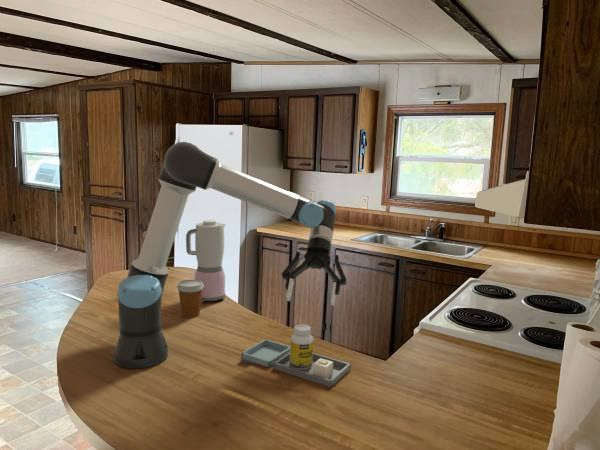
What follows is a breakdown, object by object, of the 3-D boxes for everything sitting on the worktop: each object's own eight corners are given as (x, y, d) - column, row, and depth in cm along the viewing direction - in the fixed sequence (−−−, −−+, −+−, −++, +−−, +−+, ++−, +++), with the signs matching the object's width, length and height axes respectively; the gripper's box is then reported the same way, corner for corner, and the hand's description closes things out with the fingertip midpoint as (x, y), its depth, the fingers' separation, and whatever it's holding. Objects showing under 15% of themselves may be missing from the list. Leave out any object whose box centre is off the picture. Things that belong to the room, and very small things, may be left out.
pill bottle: (292, 371, 133) (294, 332, 131) (287, 361, 139) (288, 323, 137) (315, 369, 135) (316, 330, 133) (308, 359, 141) (310, 322, 139)
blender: (220, 292, 202) (220, 218, 196) (229, 301, 191) (230, 222, 186) (182, 296, 195) (182, 219, 189) (190, 306, 184) (189, 224, 178)
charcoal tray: (330, 390, 125) (331, 381, 125) (273, 371, 134) (273, 363, 134) (350, 371, 136) (350, 363, 135) (296, 355, 145) (296, 347, 144)
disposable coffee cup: (200, 319, 171) (200, 287, 169) (174, 318, 171) (173, 286, 169) (206, 310, 180) (206, 279, 178) (181, 309, 181) (181, 278, 178)
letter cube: (325, 381, 128) (326, 367, 127) (312, 377, 130) (313, 363, 130) (332, 375, 132) (333, 361, 131) (319, 371, 134) (320, 357, 133)
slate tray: (269, 370, 135) (269, 361, 135) (241, 360, 140) (241, 352, 140) (292, 354, 145) (292, 346, 145) (265, 346, 151) (265, 338, 150)
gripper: (358, 251, 156) (351, 310, 144) (284, 246, 161) (272, 302, 149) (358, 239, 150) (351, 299, 138) (281, 233, 155) (267, 291, 143)
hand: (310, 301), depth 144 cm, fingers open, 13 cm apart
